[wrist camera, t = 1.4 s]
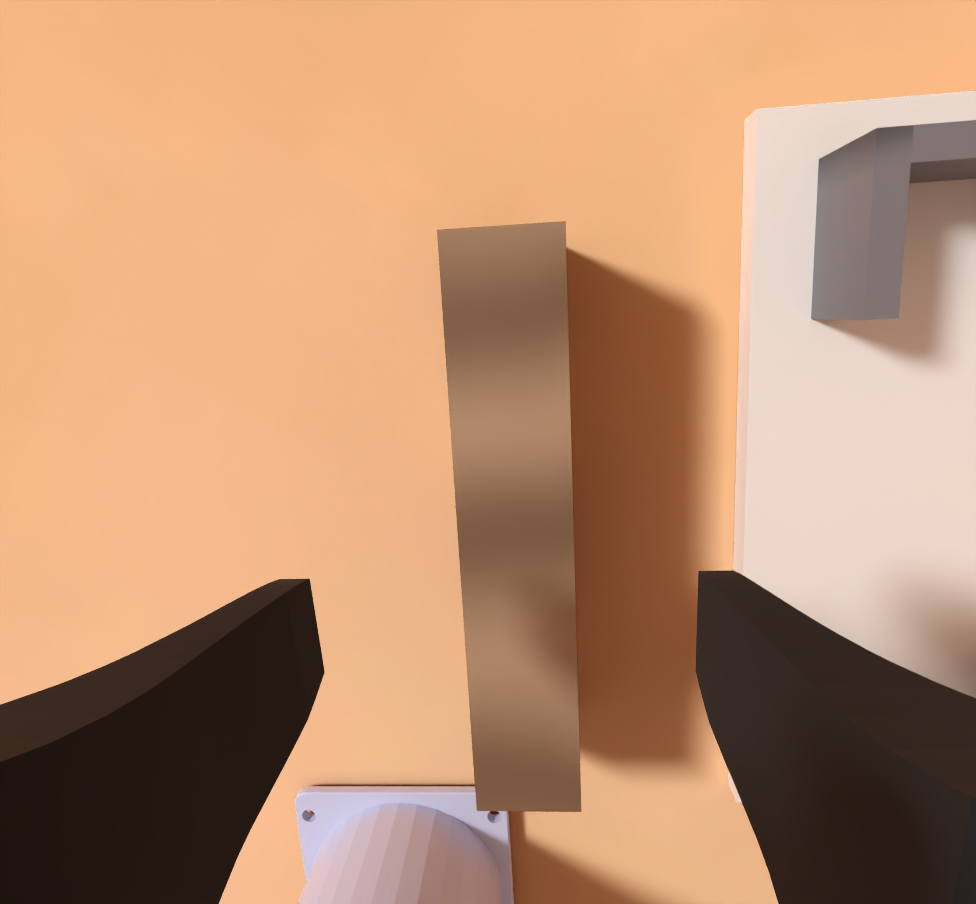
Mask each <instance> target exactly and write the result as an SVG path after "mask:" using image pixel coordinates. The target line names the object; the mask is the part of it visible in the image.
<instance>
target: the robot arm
mask: <svg viewBox="0 0 976 904" xmlns="http://www.w3.org/2000/svg"><path fill="white" fill-rule="evenodd" d="M696 674H697V678H698V682H699V686H700V690H701V694H702V698H703V701H704V705H705V709H706V712H707V716H708V720H709V723H710V725H711V728H712V730H713V733H714V735H715V738H716V740H717V743H718V745H719V748H720V750H721V753H722V755H723V758H724V760H725V763H726V765H727V767H728V770H729V772H730V775H731V777H732V780H733V782H734V784H735V787H736V789H737V792H738V794H739V797H740V799H741V801H742V804H743V806H744V809H745V811H746V814H747V816H748V818H749V821H750V823H751V826H752V828H753V831H754V833H755V835H756V838H757V840H758V843H759V846H760V848H761V851H762V854H763V857H764V859H765V862H766V865H767V868H768V870H769V873H770V877H771V880H772V883H773V887H774V890H775V893H776V897H777V900H778V903H779V904H976V698H974V697H972V696H969V695H966V694H964V693H961V692H959V691H956V690H954V689H951V688H949V687H947V686H944V685H942V684H939V683H937V682H935V681H932V680H930V679H928V678H926V677H924V676H921V675H919V674H917V673H915V672H913V671H910V670H908V669H906V668H904V667H902V666H899V665H897V664H895V663H893V662H891V661H889V660H887V659H885V658H883V657H881V656H879V655H877V654H875V653H873V652H871V651H869V650H867V649H865V648H863V647H861V646H860V645H858V644H856V643H854V642H852V641H850V640H849V639H847V638H845V637H843V636H841V635H839V634H838V633H836V632H834V631H832V630H831V629H829V628H827V627H826V626H824V625H822V624H820V623H819V622H817V621H815V620H814V619H812V618H810V617H809V616H807V615H806V614H804V613H802V612H801V611H799V610H797V609H796V608H794V607H793V606H791V605H789V604H788V603H786V602H785V601H783V600H782V599H780V598H778V597H777V596H775V595H774V594H772V593H771V592H769V591H768V590H766V589H764V588H763V587H761V586H760V585H758V584H757V583H755V582H753V581H752V580H750V579H748V578H747V577H745V576H743V575H742V574H740V573H738V572H736V571H699V575H698V610H697V644H696ZM323 675H324V666H323V660H322V653H321V647H320V641H319V635H318V629H317V622H316V616H315V610H314V604H313V597H312V591H311V585H310V579H279V580H276V581H273V582H271V583H268V584H266V585H264V586H262V587H260V588H257V589H255V590H253V591H251V592H249V593H248V594H246V595H244V596H242V597H240V598H238V599H236V600H234V601H232V602H231V603H229V604H227V605H225V606H223V607H221V608H219V609H218V610H216V611H214V612H212V613H210V614H208V615H207V616H205V617H203V618H201V619H199V620H197V621H195V622H194V623H192V624H190V625H188V626H186V627H184V628H182V629H180V630H178V631H176V632H174V633H172V634H170V635H168V636H166V637H164V638H162V639H160V640H158V641H156V642H154V643H152V644H150V645H148V646H146V647H144V648H142V649H140V650H138V651H136V652H134V653H132V654H130V655H128V656H126V657H123V658H121V659H119V660H117V661H114V662H112V663H110V664H108V665H105V666H103V667H101V668H98V669H96V670H93V671H91V672H89V673H86V674H84V675H81V676H79V677H76V678H74V679H72V680H69V681H66V682H64V683H61V684H59V685H56V686H53V687H50V688H47V689H45V690H42V691H39V692H36V693H33V694H30V695H27V696H24V697H22V698H19V699H16V700H13V701H10V702H7V703H4V704H1V705H0V904H219V901H220V899H221V896H222V894H223V891H224V889H225V887H226V884H227V882H228V879H229V877H230V874H231V872H232V869H233V867H234V864H235V862H236V859H237V857H238V855H239V853H240V851H241V849H242V846H243V844H244V842H245V840H246V838H247V836H248V834H249V832H250V830H251V828H252V826H253V824H254V822H255V820H256V818H257V816H258V814H259V812H260V811H261V809H262V807H263V805H264V803H265V801H266V799H267V797H268V795H269V793H270V792H271V790H272V788H273V786H274V784H275V782H276V780H277V778H278V776H279V774H280V773H281V771H282V769H283V767H284V765H285V763H286V761H287V759H288V757H289V755H290V754H291V752H292V750H293V748H294V746H295V744H296V742H297V740H298V738H299V736H300V734H301V732H302V730H303V728H304V726H305V724H306V722H307V720H308V718H309V715H310V712H311V710H312V707H313V704H314V701H315V699H316V696H317V693H318V690H319V687H320V684H321V681H322V678H323ZM295 809H296V816H297V823H298V830H299V837H300V843H301V850H302V857H303V864H304V871H305V878H306V884H305V887H304V889H303V892H302V894H301V897H300V899H299V902H298V904H514V893H513V877H512V860H511V844H510V828H509V812H508V811H498V812H499V814H496V815H495V814H491V813H490V811H477V808H476V793H475V786H308V787H303V788H302V789H300V791H299V792H298V794H297V796H296V798H295ZM307 810H310V811H313V812H314V813H315V814H311V813H309V812H308V811H307Z"/></svg>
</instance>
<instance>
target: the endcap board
mask: <svg viewBox="0 0 976 904" xmlns="http://www.w3.org/2000/svg"><path fill="white" fill-rule="evenodd" d="M733 571H736V572H738V573H740V574H742V575H743V576H745V577H747V578H748V579H750V580H752V581H753V582H755V583H757V584H758V585H760V586H761V587H763V588H764V589H766V590H768V591H769V592H771V593H772V594H774V595H775V596H777V597H778V598H780V599H782V600H783V601H785V602H786V603H788V604H789V605H791V606H793V607H794V608H796V609H797V610H799V611H801V612H802V613H804V614H806V615H807V616H809V617H810V618H812V619H814V620H815V621H817V622H819V623H820V624H822V625H824V626H826V627H827V628H829V629H831V630H832V631H834V632H836V633H838V634H839V635H841V636H843V637H845V638H847V639H849V640H850V641H852V642H854V643H856V644H858V645H860V646H861V647H863V648H865V649H867V650H869V651H871V652H873V653H875V654H877V655H879V656H881V657H883V658H885V659H887V660H889V661H891V662H893V663H895V664H897V665H899V666H902V667H904V668H906V669H908V670H910V671H913V672H915V673H917V674H919V675H921V676H924V677H926V678H928V679H930V680H932V681H935V682H937V683H939V684H942V685H944V686H947V687H949V688H951V689H954V690H956V691H959V692H961V693H964V694H966V695H969V696H972V697H974V698H976V90H975V91H963V92H951V93H940V94H928V95H916V96H904V97H892V98H881V99H869V100H857V101H845V102H833V103H822V104H810V105H798V106H786V107H774V108H763V109H756V110H755V111H754V112H753V113H752V114H751V115H749V116H748V117H747V118H746V119H745V121H744V161H743V201H742V241H741V281H740V321H739V362H738V402H737V442H736V482H735V522H734V562H733ZM728 783H729V785H730V787H731V790H732V792H733V795H734V797H735V799H736V802H742V801H741V799H740V797H739V794H738V792H737V789H736V787H735V784H734V782H733V780H732V777H731V775H730V772H729V770H728Z"/></svg>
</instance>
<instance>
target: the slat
mask: <svg viewBox="0 0 976 904" xmlns="http://www.w3.org/2000/svg"><path fill="white" fill-rule="evenodd" d="M437 235H438V250H439V265H440V279H441V294H442V309H443V323H444V338H445V353H446V367H447V382H448V397H449V411H450V426H451V441H452V455H453V470H454V485H455V500H456V514H457V529H458V544H459V558H460V573H461V588H462V602H463V617H464V632H465V646H466V661H467V676H468V690H469V705H470V720H471V734H472V749H473V764H474V778H475V793H476V808H477V811H545V812H581V784H580V747H579V709H578V672H577V635H576V597H575V560H574V522H573V485H572V448H571V410H570V373H569V336H568V298H567V261H566V223H565V221H563V222H549V223H534V224H519V225H504V226H489V227H474V228H459V229H444V230H437Z"/></svg>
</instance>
